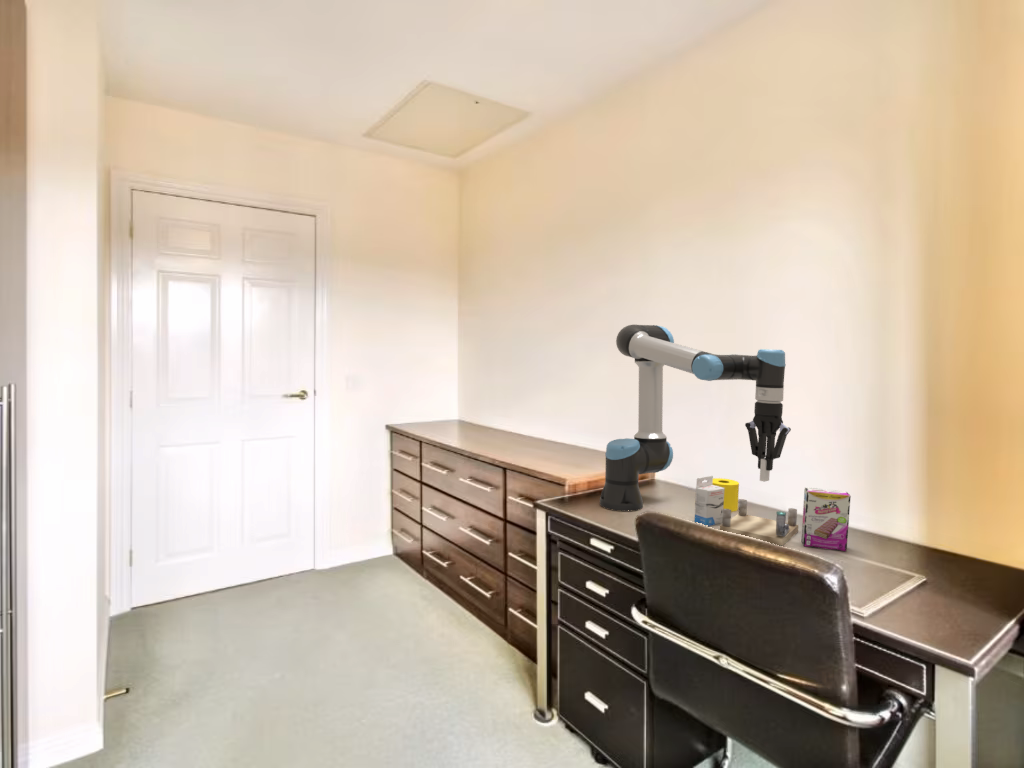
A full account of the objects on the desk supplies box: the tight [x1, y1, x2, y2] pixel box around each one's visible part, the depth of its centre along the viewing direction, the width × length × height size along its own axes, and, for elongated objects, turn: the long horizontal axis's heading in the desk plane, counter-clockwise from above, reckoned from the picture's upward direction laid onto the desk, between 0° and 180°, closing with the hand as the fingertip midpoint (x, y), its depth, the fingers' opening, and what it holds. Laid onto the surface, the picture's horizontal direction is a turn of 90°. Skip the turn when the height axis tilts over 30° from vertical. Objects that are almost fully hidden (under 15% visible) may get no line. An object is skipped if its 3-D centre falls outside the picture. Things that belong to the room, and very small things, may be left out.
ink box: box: [694, 475, 724, 527], centre depth 181 cm, size 8×5×15 cm, turn 123°
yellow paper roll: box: [712, 477, 740, 513], centre depth 199 cm, size 10×10×9 cm
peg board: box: [719, 498, 799, 547], centre depth 173 cm, size 18×18×7 cm
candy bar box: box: [800, 487, 852, 552], centre depth 160 cm, size 11×5×16 cm, turn 71°
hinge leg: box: [775, 510, 790, 536], centre depth 165 cm, size 10×2×7 cm, turn 143°
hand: (764, 480), depth 166 cm, fingers closed
